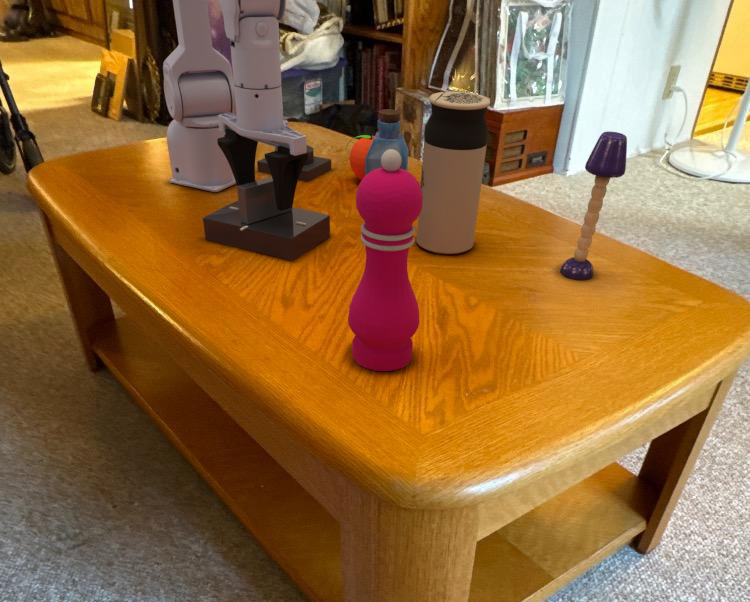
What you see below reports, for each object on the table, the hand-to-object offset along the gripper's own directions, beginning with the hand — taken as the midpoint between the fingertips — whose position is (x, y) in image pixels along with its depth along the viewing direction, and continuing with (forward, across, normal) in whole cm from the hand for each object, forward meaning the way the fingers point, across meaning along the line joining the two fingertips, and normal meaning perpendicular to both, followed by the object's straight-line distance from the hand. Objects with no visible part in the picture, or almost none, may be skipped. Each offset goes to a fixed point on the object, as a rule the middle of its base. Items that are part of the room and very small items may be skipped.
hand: (265, 201), depth 91 cm
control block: (+5, +20, -24) cm, 31 cm away
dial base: (+5, 0, 0) cm, 5 cm away
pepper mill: (+5, -33, +13) cm, 35 cm away
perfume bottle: (+5, +1, -26) cm, 26 cm away
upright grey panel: (+2, 0, 0) cm, 2 cm away
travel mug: (+5, -18, -16) cm, 25 cm away
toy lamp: (+5, -37, -21) cm, 43 cm away
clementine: (+5, +8, -29) cm, 30 cm away
